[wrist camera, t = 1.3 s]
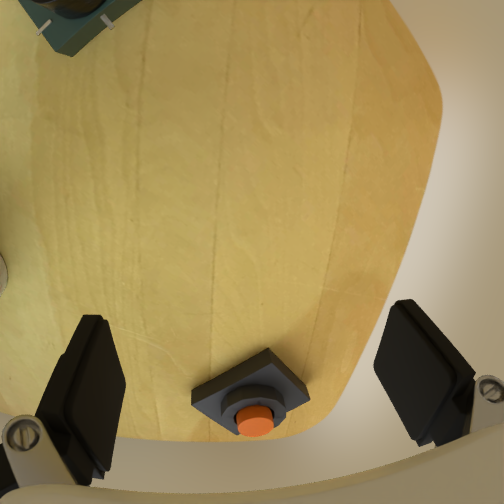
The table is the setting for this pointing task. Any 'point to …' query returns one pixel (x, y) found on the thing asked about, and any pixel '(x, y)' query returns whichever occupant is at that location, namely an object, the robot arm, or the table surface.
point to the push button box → (251, 391)
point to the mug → (3, 275)
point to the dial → (71, 7)
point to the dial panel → (74, 24)
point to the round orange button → (254, 420)
